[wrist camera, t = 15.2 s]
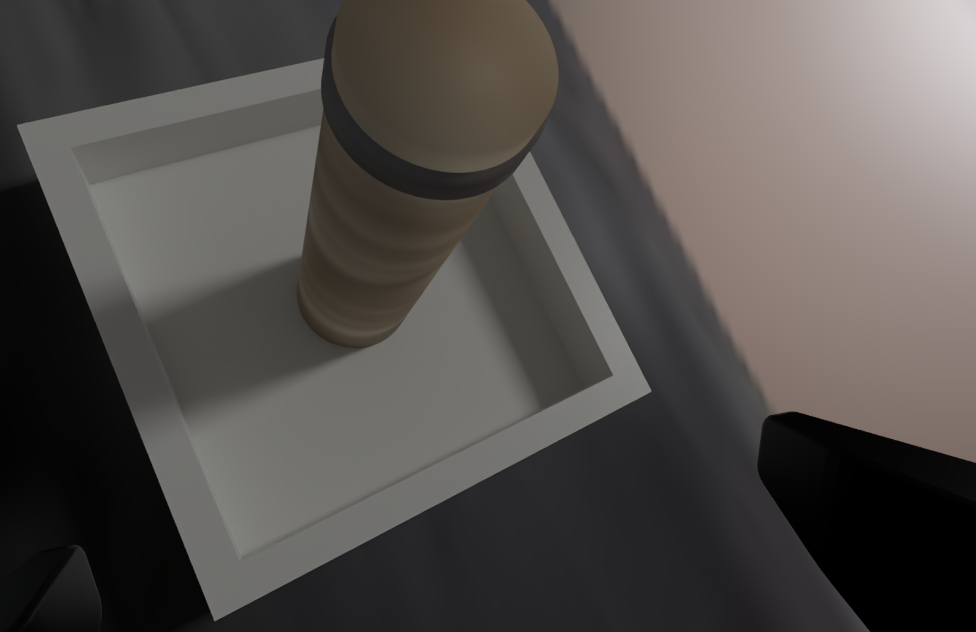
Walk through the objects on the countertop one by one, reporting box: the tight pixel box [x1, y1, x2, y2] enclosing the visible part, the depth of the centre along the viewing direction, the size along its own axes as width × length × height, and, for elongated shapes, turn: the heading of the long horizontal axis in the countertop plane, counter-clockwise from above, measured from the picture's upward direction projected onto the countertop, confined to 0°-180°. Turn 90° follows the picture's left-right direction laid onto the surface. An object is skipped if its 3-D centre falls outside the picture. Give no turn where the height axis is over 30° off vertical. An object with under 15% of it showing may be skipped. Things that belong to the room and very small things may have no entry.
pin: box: [297, 0, 558, 348], centre depth 16 cm, size 4×4×12 cm
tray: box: [17, 58, 651, 621], centre depth 21 cm, size 14×14×3 cm
